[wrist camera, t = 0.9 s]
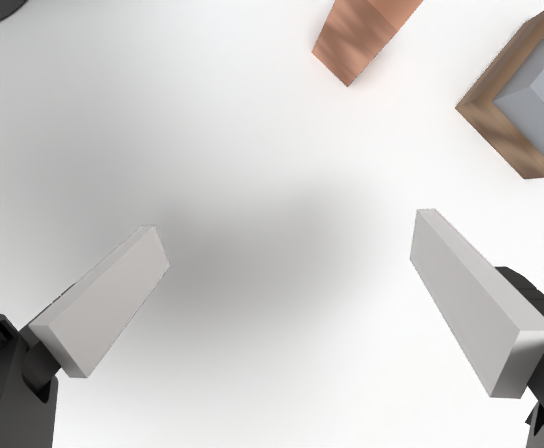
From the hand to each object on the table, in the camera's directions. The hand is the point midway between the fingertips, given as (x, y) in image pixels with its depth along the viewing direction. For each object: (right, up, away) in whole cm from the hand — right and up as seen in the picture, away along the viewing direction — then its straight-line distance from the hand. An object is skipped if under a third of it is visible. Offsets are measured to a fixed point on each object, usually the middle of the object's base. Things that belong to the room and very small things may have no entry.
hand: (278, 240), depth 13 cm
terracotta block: (+7, +19, +14) cm, 24 cm away
